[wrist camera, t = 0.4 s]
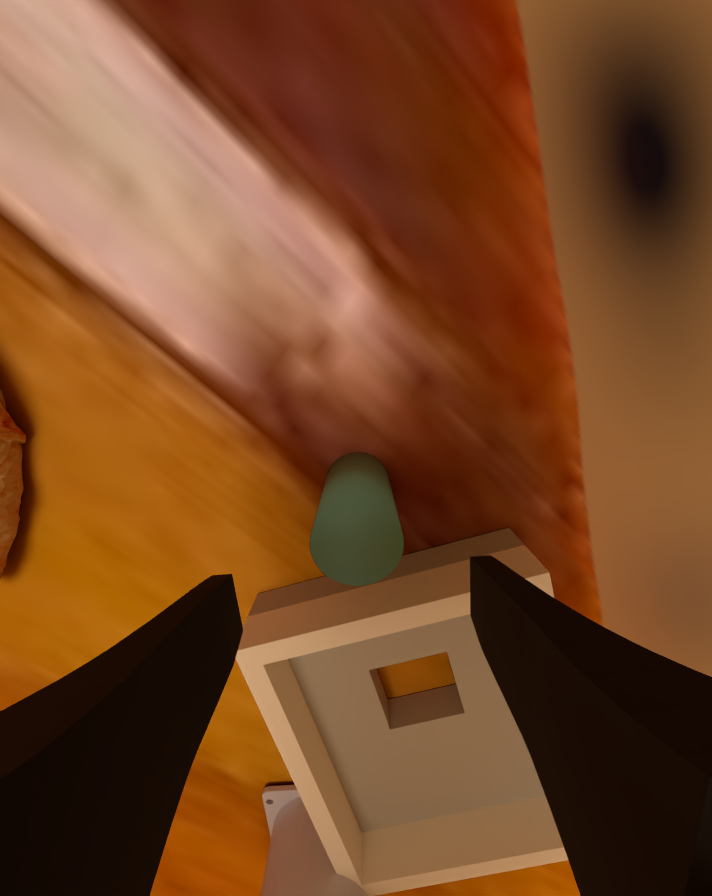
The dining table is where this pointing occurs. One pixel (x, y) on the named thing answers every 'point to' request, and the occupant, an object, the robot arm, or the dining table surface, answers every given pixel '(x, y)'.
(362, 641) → the bore tray
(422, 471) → the dining table surface
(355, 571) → the peg
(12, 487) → the croissant
